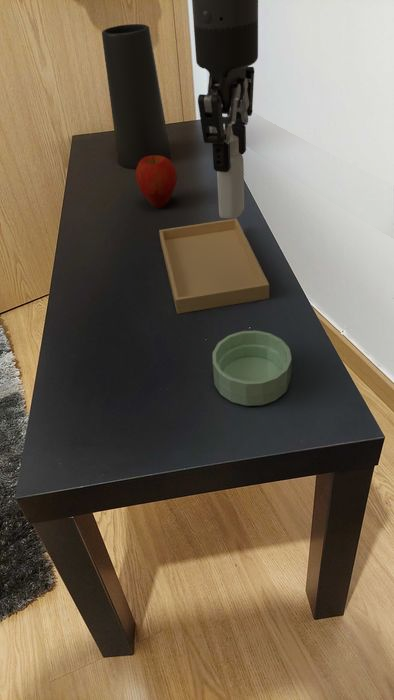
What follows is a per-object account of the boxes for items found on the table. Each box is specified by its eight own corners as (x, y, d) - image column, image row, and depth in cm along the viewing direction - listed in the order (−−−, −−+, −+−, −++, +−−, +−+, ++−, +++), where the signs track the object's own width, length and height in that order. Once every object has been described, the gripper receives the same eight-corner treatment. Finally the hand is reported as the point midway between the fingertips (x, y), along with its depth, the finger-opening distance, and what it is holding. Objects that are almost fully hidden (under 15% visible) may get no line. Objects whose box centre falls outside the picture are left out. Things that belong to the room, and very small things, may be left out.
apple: (181, 196, 114) (176, 147, 106) (177, 214, 107) (171, 163, 100) (144, 197, 115) (136, 149, 108) (137, 215, 108) (129, 165, 101)
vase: (127, 148, 138) (106, 24, 119) (176, 148, 135) (162, 20, 116) (111, 169, 128) (85, 37, 109) (163, 169, 126) (146, 34, 106)
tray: (269, 298, 83) (269, 284, 81) (177, 314, 82) (175, 300, 80) (237, 231, 100) (236, 218, 98) (160, 242, 99) (158, 230, 97)
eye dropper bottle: (208, 213, 75) (202, 130, 67) (234, 200, 78) (232, 118, 70) (229, 223, 73) (225, 137, 65) (255, 208, 75) (255, 124, 67)
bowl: (298, 363, 71) (300, 339, 68) (277, 416, 64) (278, 391, 61) (229, 348, 75) (228, 324, 72) (203, 396, 68) (200, 372, 65)
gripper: (234, 31, 53) (238, 186, 64) (274, 5, 63) (272, 144, 74) (170, 31, 56) (184, 180, 67) (218, 6, 65) (223, 140, 76)
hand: (230, 161), depth 70 cm, fingers closed on eye dropper bottle, 5 cm apart
